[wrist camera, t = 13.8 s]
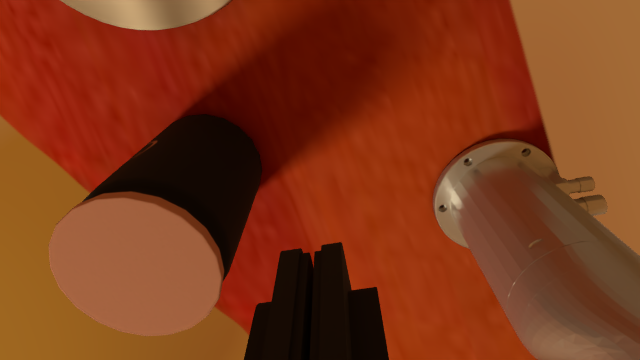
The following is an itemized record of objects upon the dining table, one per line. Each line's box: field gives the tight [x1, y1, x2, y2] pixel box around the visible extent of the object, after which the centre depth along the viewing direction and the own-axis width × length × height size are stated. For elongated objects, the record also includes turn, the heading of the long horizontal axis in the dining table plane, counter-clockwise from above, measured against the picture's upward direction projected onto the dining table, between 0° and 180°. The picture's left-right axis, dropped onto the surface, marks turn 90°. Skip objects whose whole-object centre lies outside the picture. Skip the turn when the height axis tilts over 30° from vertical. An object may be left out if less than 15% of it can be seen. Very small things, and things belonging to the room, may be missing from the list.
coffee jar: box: [49, 114, 262, 336], centre depth 33 cm, size 11×11×18 cm
